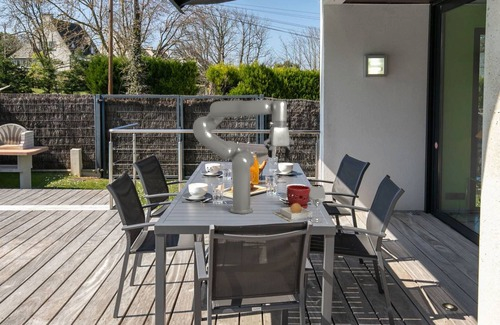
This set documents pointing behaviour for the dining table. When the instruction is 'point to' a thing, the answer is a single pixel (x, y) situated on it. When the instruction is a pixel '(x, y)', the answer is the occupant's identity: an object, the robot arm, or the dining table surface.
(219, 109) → the robot arm
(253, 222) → the dining table surface
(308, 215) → the tray
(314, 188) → the wineglass
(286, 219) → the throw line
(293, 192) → the plant pot
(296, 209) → the ball
